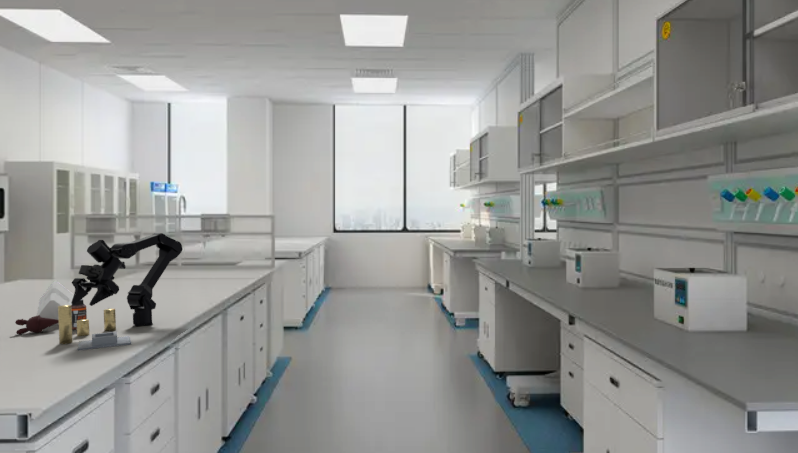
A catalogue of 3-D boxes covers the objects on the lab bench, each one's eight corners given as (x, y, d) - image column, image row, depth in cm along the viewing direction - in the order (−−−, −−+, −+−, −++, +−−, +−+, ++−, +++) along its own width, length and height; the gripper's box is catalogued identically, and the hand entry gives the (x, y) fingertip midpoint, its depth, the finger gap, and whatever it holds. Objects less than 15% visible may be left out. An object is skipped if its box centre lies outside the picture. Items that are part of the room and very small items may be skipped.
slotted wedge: (39, 333, 238) (31, 301, 227) (42, 313, 246) (35, 282, 235) (77, 329, 243) (71, 299, 232) (79, 310, 251) (74, 280, 240)
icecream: (62, 312, 228) (17, 319, 223) (58, 310, 222) (12, 317, 216) (63, 330, 227) (19, 337, 222) (59, 328, 220) (13, 336, 215)
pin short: (89, 333, 218) (88, 318, 218) (89, 335, 215) (88, 320, 214) (77, 334, 216) (76, 319, 216) (76, 336, 213) (76, 321, 213)
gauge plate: (129, 337, 209) (129, 329, 209) (131, 344, 198) (130, 335, 198) (78, 343, 202) (78, 334, 202) (77, 350, 191) (77, 341, 191)
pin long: (72, 341, 205) (71, 304, 205) (72, 343, 202) (70, 306, 201) (59, 342, 203) (58, 305, 203) (59, 344, 200) (57, 307, 199)
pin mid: (115, 328, 226) (115, 308, 226) (116, 330, 222) (115, 309, 222) (104, 329, 224) (103, 309, 224) (104, 331, 220) (103, 310, 220)
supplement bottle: (79, 330, 224) (78, 301, 224) (66, 329, 226) (64, 300, 225) (90, 327, 230) (89, 298, 230) (77, 326, 231) (76, 298, 231)
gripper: (75, 256, 216) (48, 289, 206) (111, 257, 209) (84, 291, 199) (94, 275, 224) (69, 308, 214) (130, 276, 216) (105, 311, 206)
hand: (81, 304), depth 208 cm, fingers open, 9 cm apart
